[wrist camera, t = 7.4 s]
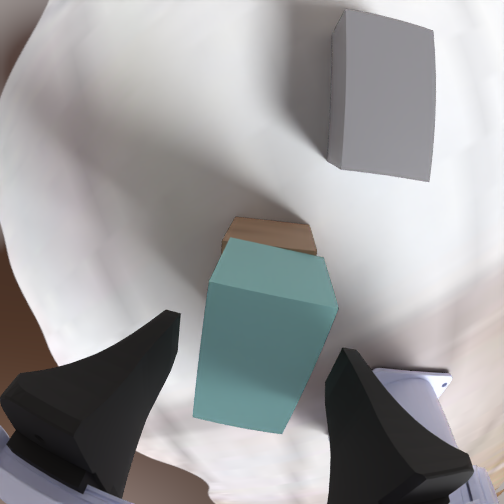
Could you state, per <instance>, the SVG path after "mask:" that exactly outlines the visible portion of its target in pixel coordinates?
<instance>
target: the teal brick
mask: <svg viewBox="0 0 504 504" xmlns="http://www.w3.org/2000/svg"><path fill="white" fill-rule="evenodd" d="M338 309H339V308H338V304H337V301H336V297H335V294H334V290H333V287H332V284H331V280H330V277H329V274H328V270H327V267H326V264H325V261H324V258H323V257H319V256H315V255H310V254H306V253H301V252H296V251H292V250H287V249H283V248H278V247H273V246H269V245H264V244H259V243H255V242H250V241H245V240H241V239H236V238H231V237H230V239H229V241H228V243H227V245H226V247H225V249H224V251H223V253H222V255H221V257H220V259H219V261H218V264H217V266H216V268H215V270H214V272H213V274H212V276H211V278H210V280H209V285H208V292H207V299H206V306H205V314H204V321H203V329H202V337H201V345H200V353H199V362H198V370H197V379H196V388H195V398H194V408H193V417H194V418H198V419H203V420H207V421H211V422H216V423H220V424H225V425H230V426H235V427H240V428H245V429H251V430H257V431H263V432H270V433H277V434H282V433H283V431H284V429H285V427H286V425H287V423H288V421H289V419H290V417H291V415H292V413H293V411H294V409H295V407H296V405H297V403H298V401H299V399H300V397H301V395H302V393H303V391H304V388H305V386H306V384H307V382H308V380H309V378H310V375H311V373H312V371H313V369H314V366H315V364H316V362H317V360H318V357H319V355H320V353H321V350H322V348H323V346H324V343H325V341H326V339H327V336H328V334H329V331H330V329H331V326H332V324H333V321H334V319H335V316H336V314H337V311H338Z"/></svg>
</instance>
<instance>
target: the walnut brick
mask: <svg viewBox="0 0 504 504" xmlns="http://www.w3.org/2000/svg"><path fill="white" fill-rule="evenodd" d="M230 237H231V238H236V239H241V240H245V241H250V242H255V243H259V244H264V245H269V246H273V247H278V248H283V249H287V250H292V251H296V252H301V253H306V254H310V255H315V256H316V255H317V249H316V246H315V242H314V239H313V235H312V232H311V228H310V225H306V224H298V223H289V222H280V221H272V220H262V219H253V218H244V217H235V218H234V220H233V222H232V224H231V225H230V227H229V229H228V231H227V233H226V234H225V236H224V238H223V240H222V251H221V255H222V253H223V251H224V249H225V247H226V245H227V243H228V241H229V239H230Z"/></svg>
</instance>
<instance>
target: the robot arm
mask: <svg viewBox="0 0 504 504" xmlns="http://www.w3.org/2000/svg"><path fill="white" fill-rule="evenodd" d="M180 316H181V314H180V313H177V312H173V311H169V310H165V311H163V312H162V313H160V314H159V315H158V316H156V317H155V318H154V319H152V320H151V321H150V322H148V323H147V324H146V325H144V326H143V327H141V328H140V329H138V330H137V331H135V332H134V333H133V334H131V335H129V336H128V337H126V338H125V339H123V340H121V341H120V342H118V343H116V344H115V345H113V346H111V347H109V348H107V349H105V350H103V351H101V352H99V353H97V354H95V355H92V356H90V357H87V358H84V359H81V360H79V361H76V362H73V363H70V364H67V365H63V366H59V367H56V368H51V369H46V370H40V371H34V372H26V373H20V374H19V375H18V376H17V377H16V378H15V379H14V380H13V382H12V383H11V384H10V385H9V386H8V388H7V389H6V390H5V391H4V392H3V394H2V395H1V397H0V403H1V406H2V408H3V410H4V412H5V414H6V415H7V417H8V418H9V420H10V422H11V423H12V425H13V426H14V428H15V429H16V431H15V432H14V434H13V435H12V436H11V438H9V436H8V434H7V433H6V432H5V430H4V429H3V428H2V427H1V426H0V499H1V500H3V501H4V502H5V503H7V504H133V503H131V502H128V501H126V500H123V499H122V496H123V492H124V488H125V485H126V481H127V477H128V473H129V470H130V467H131V463H132V460H133V457H134V454H135V451H136V448H137V445H138V442H139V439H140V436H141V433H142V430H143V427H144V425H145V422H146V419H147V417H148V415H149V413H150V410H151V409H152V407H153V405H154V403H155V401H156V399H157V397H158V395H159V393H160V391H161V389H162V387H163V385H164V383H165V381H166V379H167V377H168V375H169V373H170V371H171V368H172V366H173V363H174V360H175V357H176V354H177V352H178V339H179V327H180ZM451 380H452V375H451V374H450V373H433V372H418V371H406V370H395V369H385V368H376V369H374V370H371V369H370V367H369V366H368V365H367V363H366V362H365V361H364V359H363V358H362V357H361V355H360V354H359V353H358V352H357V350H354V349H348V348H342V350H341V352H340V354H339V356H338V358H337V360H336V362H335V364H334V366H333V368H332V370H331V372H330V374H329V376H328V378H327V380H326V382H325V406H326V415H327V423H328V432H329V437H328V438H329V441H330V453H331V461H330V482H329V494H328V502H327V504H499V502H498V499H497V495H496V493H495V490H494V487H493V484H492V482H491V479H490V477H489V475H488V473H487V471H486V469H485V468H484V467H478V466H477V465H473V466H472V463H471V460H470V457H469V455H468V454H467V453H465V452H463V451H461V450H459V449H458V447H457V444H456V441H455V439H454V436H453V434H452V431H451V428H450V426H449V423H448V421H447V419H446V416H445V414H444V411H443V409H442V407H441V404H440V402H439V400H438V398H439V396H440V395H441V394H442V393H443V391H444V390H445V389H446V387H447V386H448V384H449V383H450V382H451Z"/></svg>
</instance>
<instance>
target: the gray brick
mask: <svg viewBox="0 0 504 504" xmlns="http://www.w3.org/2000/svg"><path fill="white" fill-rule="evenodd" d="M435 106H436V68H435V47H434V34H433V30H430V29H427V28H424V27H421V26H418V25H414V24H411V23H408V22H404V21H401V20H397V19H393V18H389V17H385V16H381V15H376V14H372V13H367V12H362V11H357V10H351V9H345V11H344V12H343V14H342V16H341V18H340V20H339V22H338V24H337V26H336V28H335V30H334V32H333V34H332V67H331V102H330V123H329V141H328V156H327V161H328V162H329V163H331V164H333V165H334V166H336V167H338V168H339V169H341V170H349V171H358V172H366V173H373V174H381V175H388V176H395V177H401V178H407V179H413V180H419V181H425V182H429V180H430V173H431V164H432V154H433V143H434V129H435Z"/></svg>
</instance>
